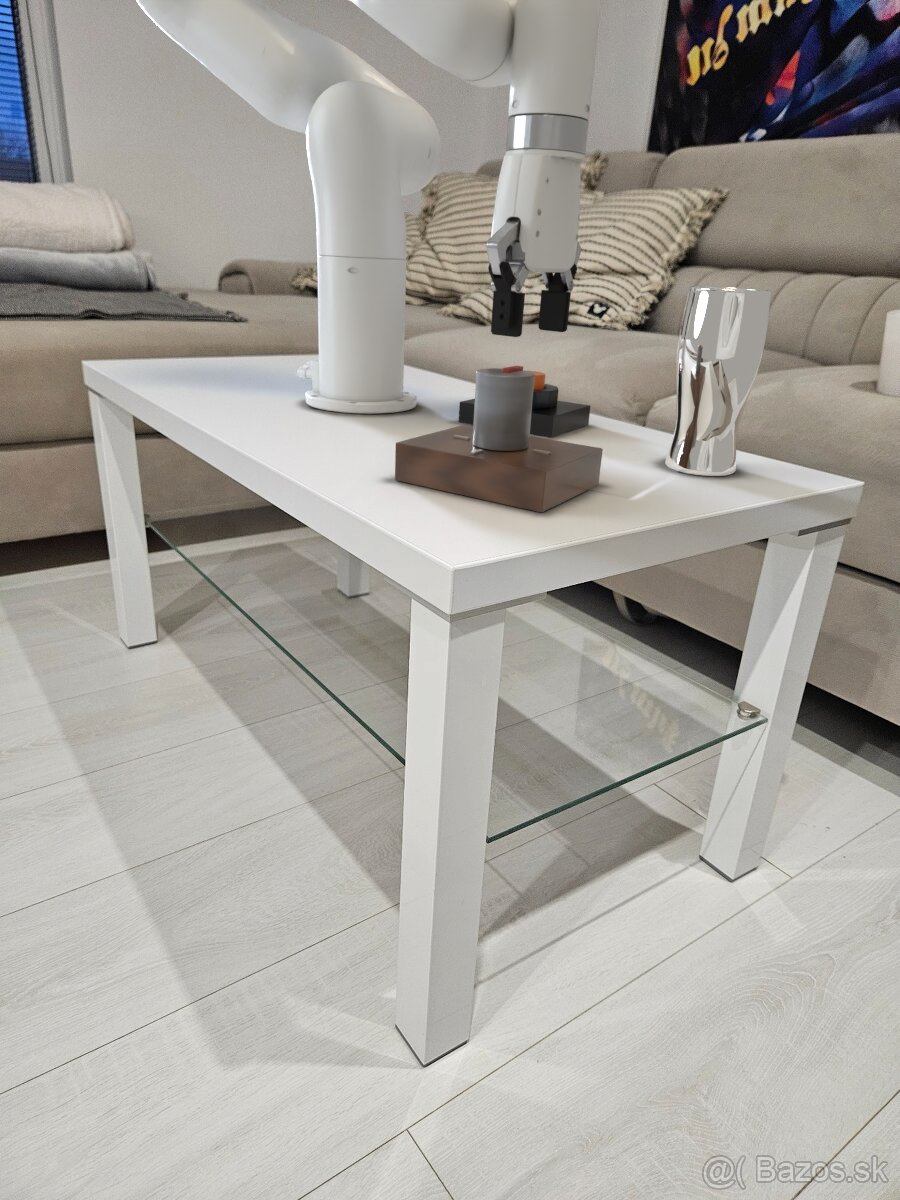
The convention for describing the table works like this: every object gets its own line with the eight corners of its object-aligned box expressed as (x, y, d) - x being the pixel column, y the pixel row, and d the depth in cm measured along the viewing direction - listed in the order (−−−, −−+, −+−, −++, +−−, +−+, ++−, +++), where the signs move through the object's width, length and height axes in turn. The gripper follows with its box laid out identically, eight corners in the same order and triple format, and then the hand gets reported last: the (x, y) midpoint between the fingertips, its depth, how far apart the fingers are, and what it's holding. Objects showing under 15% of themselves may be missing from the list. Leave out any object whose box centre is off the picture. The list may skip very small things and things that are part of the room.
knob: (510, 454, 62) (516, 374, 59) (461, 444, 64) (465, 367, 61) (538, 444, 65) (545, 369, 63) (491, 436, 67) (496, 362, 65)
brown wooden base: (394, 480, 65) (395, 440, 64) (462, 458, 73) (464, 422, 71) (541, 513, 58) (546, 469, 57) (598, 485, 66) (603, 446, 65)
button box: (458, 422, 88) (460, 384, 86) (500, 411, 95) (502, 376, 93) (551, 438, 82) (555, 397, 81) (588, 425, 89) (592, 388, 88)
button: (503, 389, 86) (504, 372, 86) (519, 386, 89) (521, 369, 89) (534, 393, 85) (535, 376, 84) (549, 390, 87) (551, 373, 87)
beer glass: (655, 456, 77) (680, 284, 71) (731, 461, 76) (763, 288, 70) (665, 474, 71) (693, 287, 65) (748, 480, 70) (784, 292, 64)
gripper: (553, 154, 86) (538, 326, 93) (462, 131, 73) (452, 333, 80) (620, 153, 82) (599, 332, 89) (537, 129, 69) (520, 341, 76)
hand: (530, 333), depth 84 cm, fingers open, 9 cm apart
